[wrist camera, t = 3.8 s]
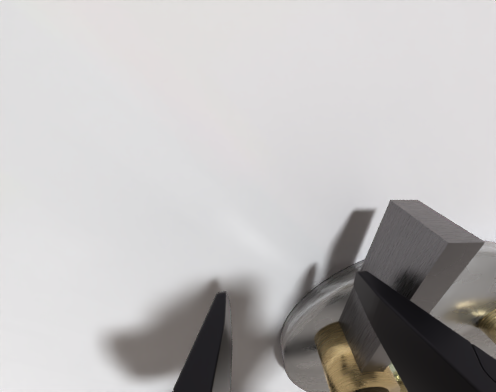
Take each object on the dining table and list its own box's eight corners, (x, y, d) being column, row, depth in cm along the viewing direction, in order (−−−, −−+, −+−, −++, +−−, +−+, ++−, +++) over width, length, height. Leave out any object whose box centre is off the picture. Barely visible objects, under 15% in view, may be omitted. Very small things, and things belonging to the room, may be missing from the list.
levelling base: (446, 385, 23) (497, 457, 19) (283, 403, 23) (294, 480, 19) (599, 221, 12) (824, 305, 7) (276, 258, 12) (301, 364, 7)
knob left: (358, 347, 14) (393, 421, 11) (309, 350, 14) (330, 425, 11) (444, 200, 8) (567, 267, 5) (362, 200, 8) (441, 270, 5)
